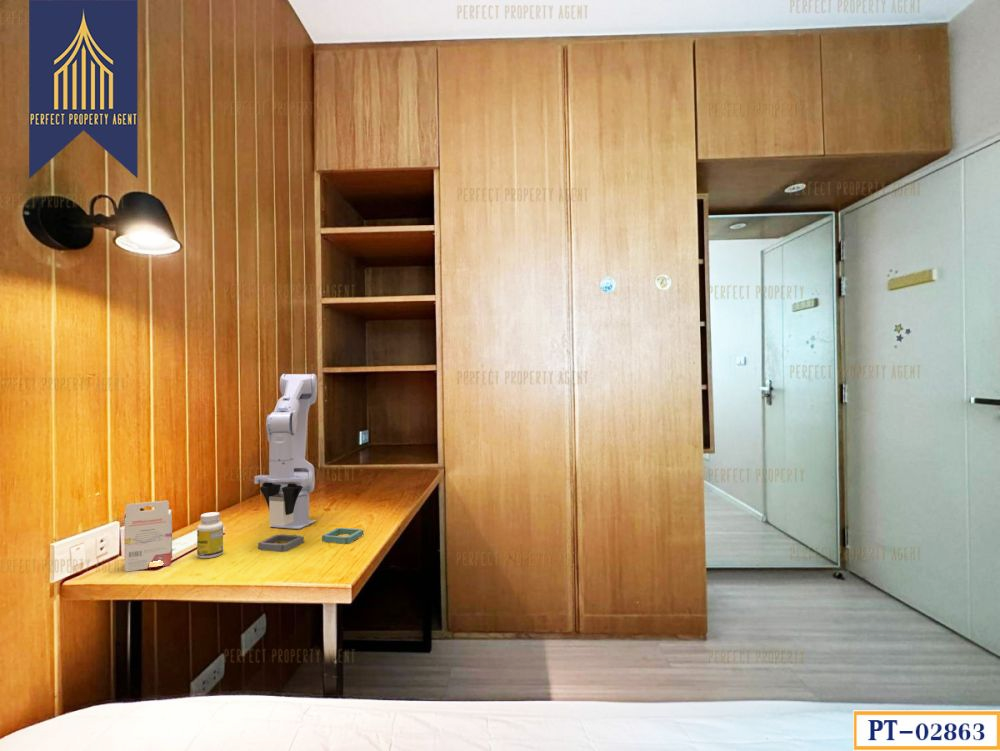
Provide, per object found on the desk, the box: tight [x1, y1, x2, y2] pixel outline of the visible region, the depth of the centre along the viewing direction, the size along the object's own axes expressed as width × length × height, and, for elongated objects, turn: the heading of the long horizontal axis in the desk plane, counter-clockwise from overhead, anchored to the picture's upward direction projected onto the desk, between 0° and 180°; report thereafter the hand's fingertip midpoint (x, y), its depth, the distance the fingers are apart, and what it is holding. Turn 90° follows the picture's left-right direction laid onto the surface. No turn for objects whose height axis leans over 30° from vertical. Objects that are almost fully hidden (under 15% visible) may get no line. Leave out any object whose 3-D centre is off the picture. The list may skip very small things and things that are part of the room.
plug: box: [268, 493, 293, 526], centre depth 128 cm, size 4×4×7 cm
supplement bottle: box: [196, 511, 224, 559], centre depth 121 cm, size 5×5×10 cm
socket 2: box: [321, 527, 365, 544], centre depth 134 cm, size 8×8×2 cm
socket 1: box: [257, 533, 305, 552], centre depth 128 cm, size 8×8×2 cm
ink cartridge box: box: [123, 500, 173, 573], centre depth 114 cm, size 9×5×15 cm, turn 118°
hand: (281, 513), depth 128 cm, fingers closed on plug, 4 cm apart
